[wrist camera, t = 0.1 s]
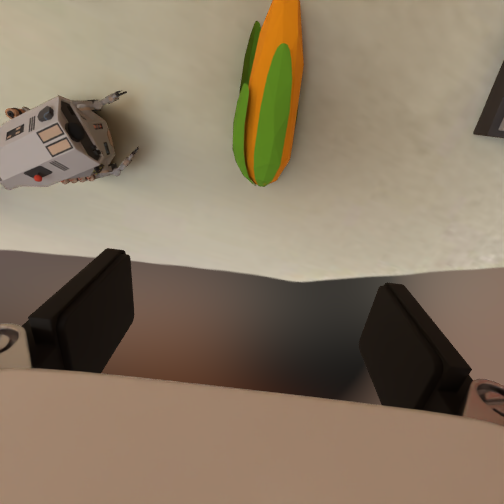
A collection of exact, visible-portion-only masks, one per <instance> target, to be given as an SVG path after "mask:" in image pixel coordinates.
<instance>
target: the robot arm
mask: <svg viewBox="0 0 504 504" xmlns="http://www.w3.org/2000/svg"><path fill="white" fill-rule="evenodd" d="M28 319H29V320H28V321H27V322H26V323H25V324H24V325H22V326H19V325H16V324H0V504H504V386H503V385H501V384H499V383H496V382H494V381H490V380H487V379H476V380H472V378H471V377H470V376H469V373H470V371H471V370H472V369H471V368H470V366H469V365H468V364H467V363H466V361H465V360H464V359H463V358H462V356H461V355H460V354H459V353H458V351H457V350H456V349H455V348H454V347H453V345H452V344H451V343H450V342H449V340H448V339H447V338H446V337H445V335H444V334H443V333H442V332H441V331H440V330H439V328H438V327H437V325H436V324H435V323H434V322H433V321H432V319H431V318H430V317H429V316H428V315H427V313H426V312H425V311H424V309H423V308H422V307H421V306H420V304H419V303H418V302H417V301H416V299H415V298H414V297H413V296H412V295H411V293H410V292H409V291H408V290H407V288H406V287H405V286H404V285H402V284H393V283H385V285H384V286H380V287H379V289H378V291H377V294H376V297H375V300H374V302H373V306H372V308H371V311H370V313H369V316H368V319H367V322H366V324H365V327H364V330H363V332H362V335H361V338H360V341H359V349H360V352H361V355H362V357H363V360H364V362H365V365H366V367H367V369H368V372H369V374H370V377H371V379H372V382H373V384H374V387H375V389H376V392H377V394H378V396H379V399H380V402H381V404H382V405H374V404H365V403H358V402H349V401H340V400H333V399H324V398H316V397H307V396H299V395H291V394H282V393H273V392H264V391H255V390H247V389H238V388H228V387H220V386H212V385H202V384H193V383H184V382H175V381H166V380H156V379H147V378H138V377H128V376H119V375H110V374H101V372H102V370H103V369H104V367H105V366H106V364H107V362H108V361H109V359H110V358H111V356H112V354H113V353H114V351H115V349H116V348H117V346H118V345H119V343H120V342H121V340H122V338H123V337H124V335H125V333H126V332H127V330H128V329H129V327H130V325H131V324H132V322H133V319H134V303H133V289H132V276H131V261H130V256H129V255H126V253H125V251H124V250H117V249H109V248H107V249H105V250H104V251H103V252H102V253H101V254H100V255H99V256H97V257H96V258H95V259H94V260H93V261H92V262H91V263H89V264H88V265H87V266H86V267H85V268H84V269H83V270H81V271H80V272H79V273H78V274H77V275H76V276H75V277H74V278H72V279H71V280H70V281H69V282H68V283H67V284H66V285H64V286H63V287H62V288H61V289H60V290H59V291H58V292H56V293H55V294H54V295H53V296H52V297H51V298H49V299H48V300H47V301H46V302H45V303H44V304H43V305H42V306H40V307H39V308H38V309H37V310H36V311H35V312H34V313H32V314H31V315H30V316H29V317H28Z"/></svg>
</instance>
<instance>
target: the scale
mask: <svg viewBox="0 0 504 504" xmlns="http://www.w3.org/2000/svg"><path fill="white" fill-rule="evenodd" d="M473 134H477V135H485V136H492V137H500V138H504V62H503V64H502V66H501V69H500V71H499V74H498V76H497V78H496V81H495V83H494V85H493V88H492V90H491V93H490V95H489V97H488V100H487V102H486V105H485V107H484V109H483V112H482V114H481V116H480V119H479V121H478V124H477V126H476V128H475V131H474V133H473Z"/></svg>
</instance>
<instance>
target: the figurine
mask: <svg viewBox="0 0 504 504" xmlns="http://www.w3.org/2000/svg"><path fill="white" fill-rule="evenodd" d="M119 92H121V91H117V92H116V93H113V94H110V95H108V96H107V97H105V99H102V100H101V101H98V100H87V101H71V100H69V99H66V98H64V97H61V96H57V97H55V98H53V99H51V100H49V101H47V102H45V103H43V104H41V105H39V106H37V107H35V108H33V109H31V110H30V109H29V108H27V107H22V109H17V108H8V109H6V111H5V113H6V115H7V117H9V118H11V120H9V121H7V122H5V123H3V124H2V125H1V127H0V183H1V184H2V185H3V186H4V187H5V189H8V190H12V189H14V188H17V187H19V186H37V187H48V186H50V185H53V184H55V183H58V182H60V181H61V182H62V183H63V184H67V183H69V182H70V181H71V182H72V183H76V182H78V181H80V182H85V181H87V180H89V181H93V180H95V179H97V178H100V177H104V176H108V175H110V174H114V175H115V176H119V175H120V173H121V171H122V170H123V169H124V168H125V167H127V166H128V165H129V164H130V162H131V161H132V160H131V159H132V158H133V157H134V154H135V153H136V151H137V150H138V149H139V148H138V147H137V149H136V150H135V151H133V152H132V154H130V156H129V157H126V158H125V160H124V161H123V162H122V163H121V165H120V166H119V167H118V168H117V165H116V164H110V162H111V161H112V159H113V157H114V156H115V151H114V148H113V147H114V145H113V141H112V138H111V134H110V131H109V129H108V127H107V123H106V121H105V120H104V119H102V118H101V117H99V116H98V115H97V114H95V113H94V112H93V111H101V108H102V105H105V104H107V103H108V104H110V103H112V102H114V101H116V100H118V99H119V98H118V97H119V96H120V95H123V94H125V93H127V91H125V92H123V93H120V94H119Z"/></svg>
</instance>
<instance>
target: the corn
mask: <svg viewBox="0 0 504 504" xmlns="http://www.w3.org/2000/svg"><path fill="white" fill-rule="evenodd" d="M303 66H304V63H303V45H302V28H301V11H300V1H299V0H273V1H272V4H271V6H270V8H269V11H268V13H267V16H266V18H265V21H264V23H263V26H262V28H261V27H260V24H259V22H258V21H256V22H255V24H254V26H253V29H252V32H251V35H250V39H249V43H248V47H247V50H246V54H245V59H244V66H243V73H242V80H241V86H240V95H239V98H238V101H237V106H236V112H235V117H234V123H233V152H234V156H235V160H236V163H237V165H238V166H239V168H240V170H241V172H242V174H243V175H244V176H245V177H246V178H247V179H248V180H249V181H250V182H251V183H252V184H254V185H255V184H257V185H258V186H263V187H265V186H266V185H267V184H269V183H272V182H274V181H276V180H277V179H278V177H279V176H280V174H281V173H282V171H283V170H284V168H285V166H286V165H287V163H288V162H289V160H290V156H291V150H292V144H293V137H294V130H295V124H296V119H297V112H298V102H299V94H300V87H301V80H302V73H303ZM251 180H252V181H253V182H254V183H253V182H252V181H251Z"/></svg>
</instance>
